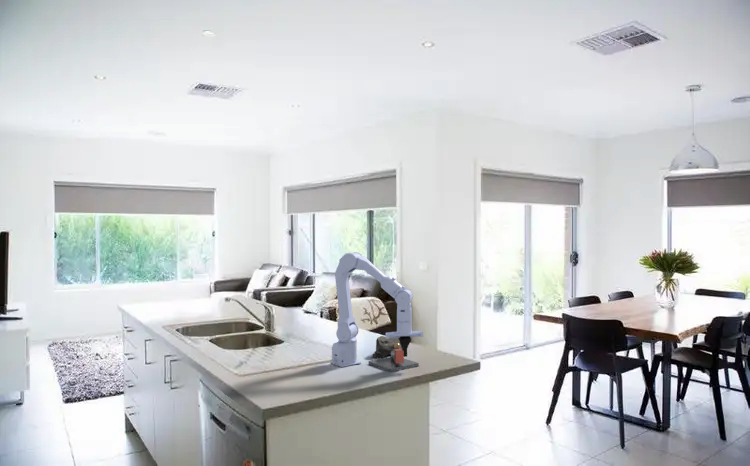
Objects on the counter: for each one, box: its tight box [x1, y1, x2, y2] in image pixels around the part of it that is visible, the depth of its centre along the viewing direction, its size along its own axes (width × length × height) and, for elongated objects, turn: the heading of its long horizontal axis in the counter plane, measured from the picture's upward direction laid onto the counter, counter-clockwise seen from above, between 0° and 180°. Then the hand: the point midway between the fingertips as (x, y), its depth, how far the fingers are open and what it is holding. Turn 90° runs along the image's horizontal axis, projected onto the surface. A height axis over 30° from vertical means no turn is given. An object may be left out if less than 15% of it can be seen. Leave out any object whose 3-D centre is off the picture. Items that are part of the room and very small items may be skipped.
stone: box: [371, 335, 402, 359], centre depth 223 cm, size 18×9×10 cm
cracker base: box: [368, 343, 420, 373], centre depth 204 cm, size 14×14×7 cm
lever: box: [390, 349, 405, 363], centre depth 204 cm, size 12×3×5 cm, turn 9°
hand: (404, 356), depth 200 cm, fingers closed, pressing on lever
